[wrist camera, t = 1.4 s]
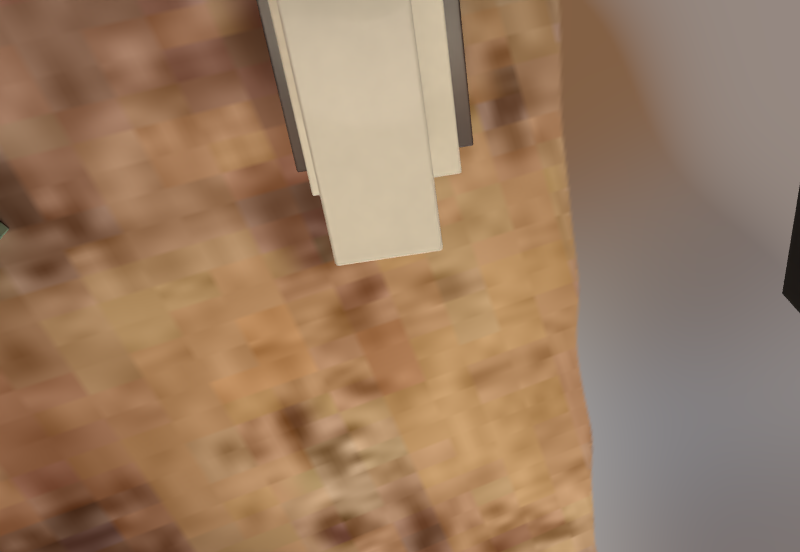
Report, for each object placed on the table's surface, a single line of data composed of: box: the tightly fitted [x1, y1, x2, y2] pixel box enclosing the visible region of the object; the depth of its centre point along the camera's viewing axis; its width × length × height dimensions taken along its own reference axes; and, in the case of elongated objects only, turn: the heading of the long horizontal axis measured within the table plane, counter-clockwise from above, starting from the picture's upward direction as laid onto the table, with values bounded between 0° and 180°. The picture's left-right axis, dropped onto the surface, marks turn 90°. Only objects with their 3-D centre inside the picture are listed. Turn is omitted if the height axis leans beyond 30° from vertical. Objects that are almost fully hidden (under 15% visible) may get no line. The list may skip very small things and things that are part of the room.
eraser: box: [268, 0, 461, 266], centre depth 22 cm, size 11×6×9 cm, turn 8°
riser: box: [256, 0, 473, 172], centre depth 28 cm, size 11×7×5 cm, turn 8°
